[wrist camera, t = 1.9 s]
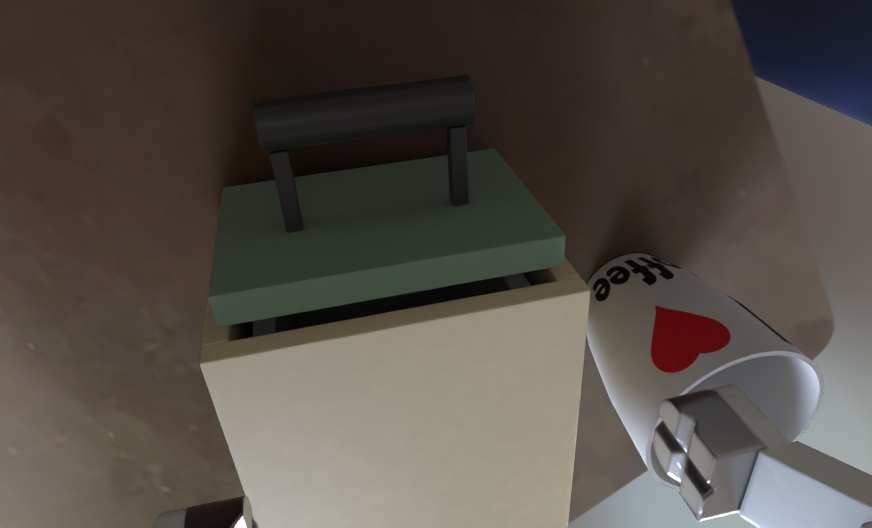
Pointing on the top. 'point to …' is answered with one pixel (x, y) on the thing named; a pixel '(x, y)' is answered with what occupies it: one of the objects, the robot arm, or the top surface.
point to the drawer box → (409, 411)
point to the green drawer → (373, 216)
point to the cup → (688, 350)
